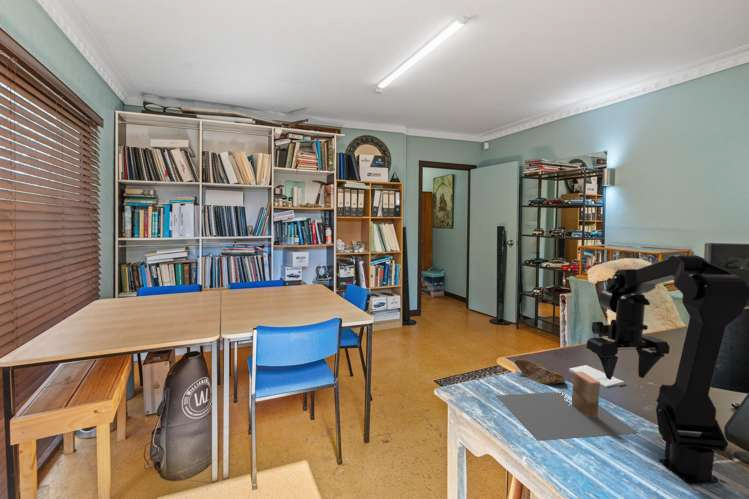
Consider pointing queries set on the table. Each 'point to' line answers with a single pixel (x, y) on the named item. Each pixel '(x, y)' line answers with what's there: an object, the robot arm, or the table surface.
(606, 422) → the rubber mat
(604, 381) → the external hard drive
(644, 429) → the table surface
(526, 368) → the decorative stone
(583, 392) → the walnut slab
